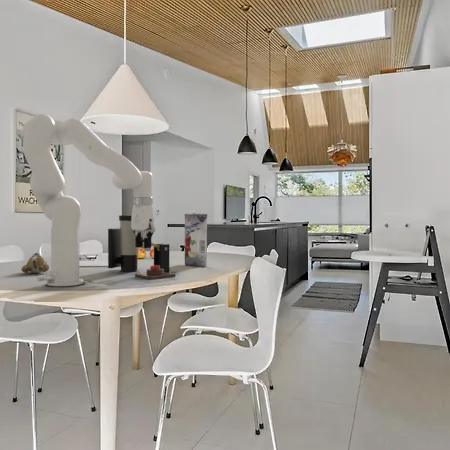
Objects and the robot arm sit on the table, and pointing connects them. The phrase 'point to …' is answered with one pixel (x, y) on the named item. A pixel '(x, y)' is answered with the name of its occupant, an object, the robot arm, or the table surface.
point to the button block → (155, 274)
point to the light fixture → (122, 246)
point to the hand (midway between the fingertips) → (143, 247)
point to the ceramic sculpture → (36, 264)
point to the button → (155, 267)
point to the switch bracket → (162, 257)
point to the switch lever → (151, 244)
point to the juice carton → (195, 239)
